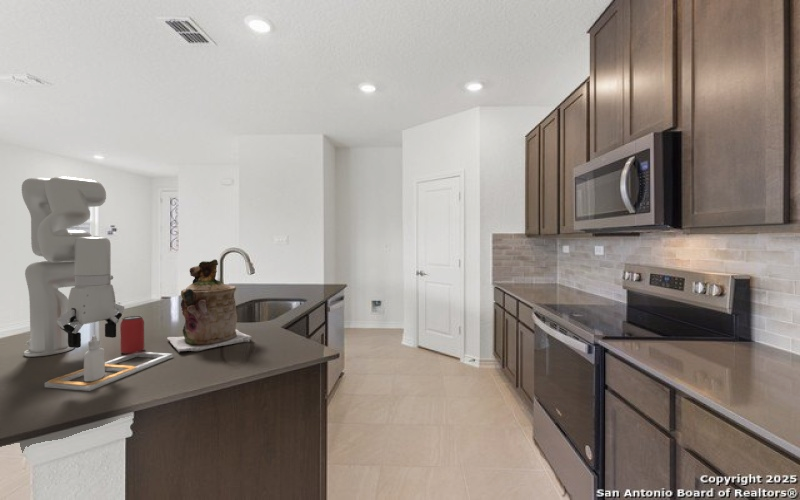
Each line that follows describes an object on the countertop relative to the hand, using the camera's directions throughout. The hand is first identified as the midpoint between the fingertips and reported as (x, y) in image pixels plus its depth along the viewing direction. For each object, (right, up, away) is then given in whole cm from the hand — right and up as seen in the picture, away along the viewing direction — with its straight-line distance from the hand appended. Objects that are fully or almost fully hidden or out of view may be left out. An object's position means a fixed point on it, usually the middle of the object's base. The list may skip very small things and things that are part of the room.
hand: (93, 341), depth 97 cm
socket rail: (+1, -10, +6) cm, 12 cm away
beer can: (-8, -10, +24) cm, 27 cm away
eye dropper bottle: (0, -11, 0) cm, 11 cm away
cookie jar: (+12, -10, +37) cm, 40 cm away
